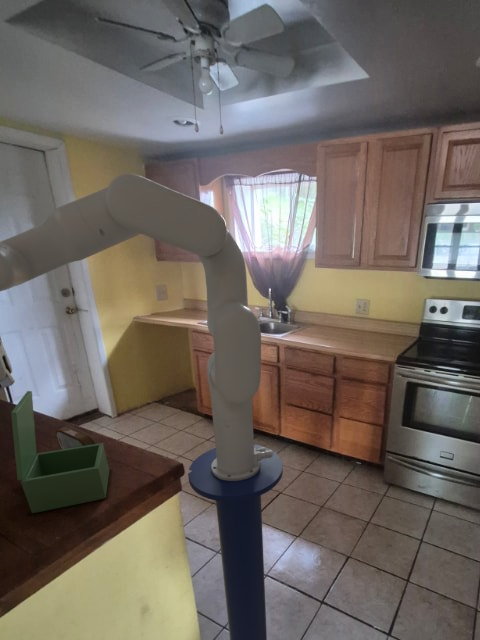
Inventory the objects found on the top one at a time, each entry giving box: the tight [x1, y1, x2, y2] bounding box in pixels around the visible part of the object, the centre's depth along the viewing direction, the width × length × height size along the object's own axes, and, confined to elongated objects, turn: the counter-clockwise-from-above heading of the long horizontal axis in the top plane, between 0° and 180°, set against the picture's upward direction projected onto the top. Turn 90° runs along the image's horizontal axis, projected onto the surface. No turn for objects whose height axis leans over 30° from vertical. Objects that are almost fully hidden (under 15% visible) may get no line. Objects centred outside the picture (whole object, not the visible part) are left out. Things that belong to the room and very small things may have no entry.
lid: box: [10, 390, 37, 481], centre depth 75 cm, size 14×11×1 cm
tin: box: [54, 424, 97, 450], centre depth 92 cm, size 15×3×8 cm, turn 59°
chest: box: [20, 442, 110, 514], centre depth 81 cm, size 14×11×8 cm
